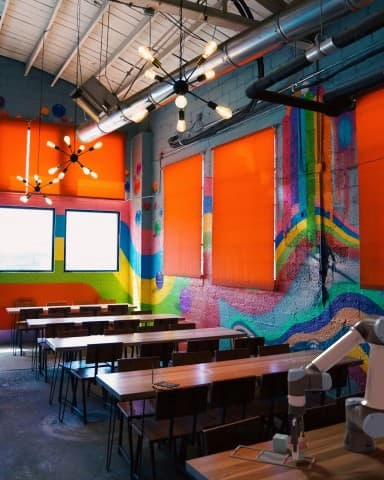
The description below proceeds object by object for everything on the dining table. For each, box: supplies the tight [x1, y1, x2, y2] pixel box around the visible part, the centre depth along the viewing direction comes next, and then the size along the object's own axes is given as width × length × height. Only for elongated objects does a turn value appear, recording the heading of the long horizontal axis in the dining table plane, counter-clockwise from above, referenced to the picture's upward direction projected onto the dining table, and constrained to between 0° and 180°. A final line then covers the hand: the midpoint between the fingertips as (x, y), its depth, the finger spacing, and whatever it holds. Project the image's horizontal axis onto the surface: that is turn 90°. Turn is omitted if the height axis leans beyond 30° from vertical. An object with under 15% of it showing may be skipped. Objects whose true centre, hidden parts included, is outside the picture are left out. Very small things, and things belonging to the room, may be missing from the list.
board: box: [228, 444, 317, 471], centre depth 215 cm, size 14×37×1 cm, turn 64°
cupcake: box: [287, 431, 308, 460], centre depth 210 cm, size 9×8×12 cm
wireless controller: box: [151, 364, 181, 388], centre depth 342 cm, size 20×14×17 cm
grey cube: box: [272, 433, 289, 453], centre depth 225 cm, size 6×6×6 cm
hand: (297, 455), depth 210 cm, fingers closed on cupcake, 8 cm apart
